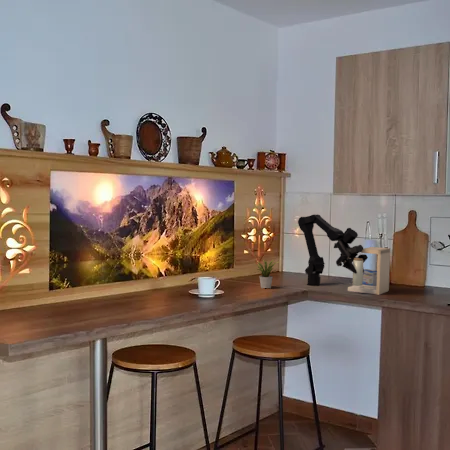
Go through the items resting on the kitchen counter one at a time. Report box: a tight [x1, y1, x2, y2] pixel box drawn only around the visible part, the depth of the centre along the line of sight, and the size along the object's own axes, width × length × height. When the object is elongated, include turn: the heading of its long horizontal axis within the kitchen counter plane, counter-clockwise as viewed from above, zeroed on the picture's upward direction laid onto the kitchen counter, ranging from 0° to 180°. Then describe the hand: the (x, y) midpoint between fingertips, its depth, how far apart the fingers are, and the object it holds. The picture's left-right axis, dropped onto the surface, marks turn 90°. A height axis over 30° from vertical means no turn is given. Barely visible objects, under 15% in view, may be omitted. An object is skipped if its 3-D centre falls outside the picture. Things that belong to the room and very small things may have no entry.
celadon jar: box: [352, 258, 364, 286], centre depth 341 cm, size 5×5×14 cm
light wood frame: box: [347, 246, 391, 296], centre depth 350 cm, size 18×16×23 cm
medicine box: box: [362, 268, 377, 286], centre depth 373 cm, size 8×4×9 cm, turn 37°
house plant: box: [256, 258, 278, 289], centre depth 353 cm, size 14×14×16 cm
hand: (359, 272), depth 340 cm, fingers closed on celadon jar, 5 cm apart
